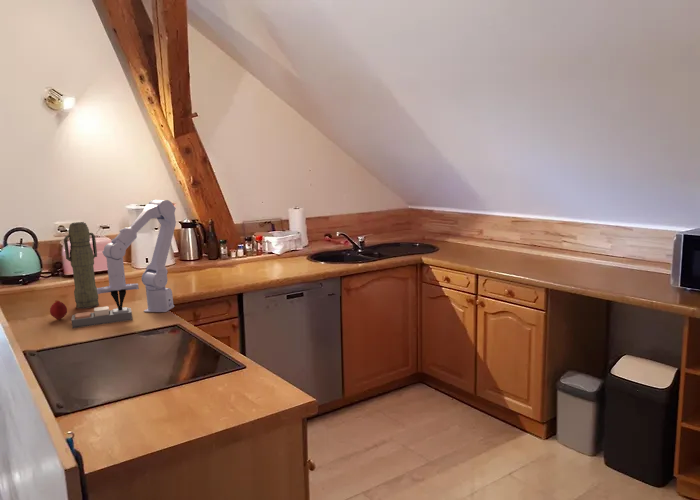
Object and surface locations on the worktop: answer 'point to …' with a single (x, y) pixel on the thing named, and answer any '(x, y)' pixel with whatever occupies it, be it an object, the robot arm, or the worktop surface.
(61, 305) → the onion
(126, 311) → the light gray key
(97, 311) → the cream key
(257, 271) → the worktop surface
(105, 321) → the key panel
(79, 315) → the terracotta key
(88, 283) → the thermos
